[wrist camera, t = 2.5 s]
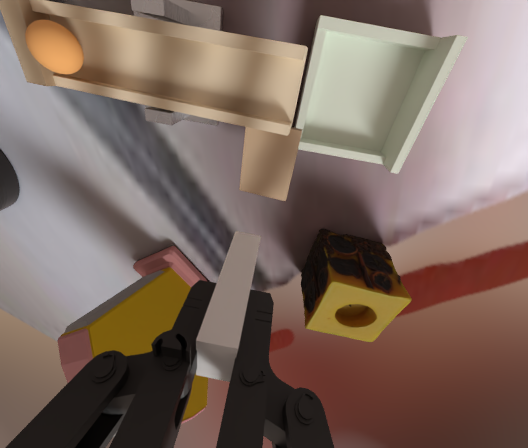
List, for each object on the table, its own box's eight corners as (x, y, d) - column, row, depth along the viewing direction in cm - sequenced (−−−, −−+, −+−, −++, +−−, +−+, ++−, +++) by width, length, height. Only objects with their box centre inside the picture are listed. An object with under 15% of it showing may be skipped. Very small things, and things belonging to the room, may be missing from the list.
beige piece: (86, 144, 28) (53, 154, 25) (46, 3, 21) (-7, -10, 18) (288, 193, 26) (282, 211, 22) (321, 51, 18) (319, 47, 15)
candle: (320, 226, 34) (330, 279, 26) (386, 242, 34) (416, 298, 26) (298, 274, 40) (301, 329, 31) (355, 286, 40) (372, 344, 32)
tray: (291, 140, 27) (291, 154, 23) (317, 20, 21) (323, 9, 17) (381, 157, 27) (398, 173, 23) (433, 42, 21) (467, 37, 17)
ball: (70, 71, 22) (25, 69, 19) (57, 21, 20) (4, 12, 17) (98, 78, 21) (55, 77, 18) (87, 27, 19) (36, 18, 16)
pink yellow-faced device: (124, 250, 40) (-6, 398, 22) (164, 231, 37) (49, 386, 19) (202, 321, 50) (154, 462, 32) (238, 311, 47) (208, 461, 29)
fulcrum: (149, 111, 27) (117, 123, 22) (135, -8, 21) (87, -31, 16) (218, 124, 27) (202, 138, 22) (222, 8, 21) (202, -9, 16)
